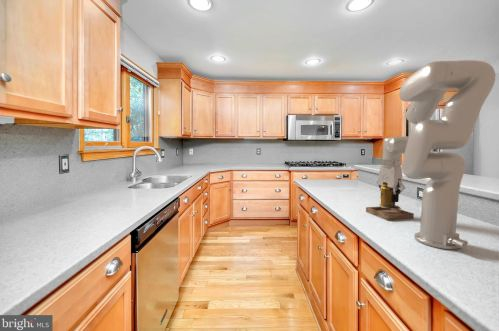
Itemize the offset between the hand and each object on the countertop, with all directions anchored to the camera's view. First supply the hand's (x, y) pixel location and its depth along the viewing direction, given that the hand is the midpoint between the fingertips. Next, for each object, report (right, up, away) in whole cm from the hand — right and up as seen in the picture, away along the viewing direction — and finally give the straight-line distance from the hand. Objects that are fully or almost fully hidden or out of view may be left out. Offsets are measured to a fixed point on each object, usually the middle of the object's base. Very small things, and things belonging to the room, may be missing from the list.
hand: (389, 200), depth 110 cm
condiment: (0, -3, 0) cm, 3 cm away
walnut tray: (0, -7, 0) cm, 7 cm away
